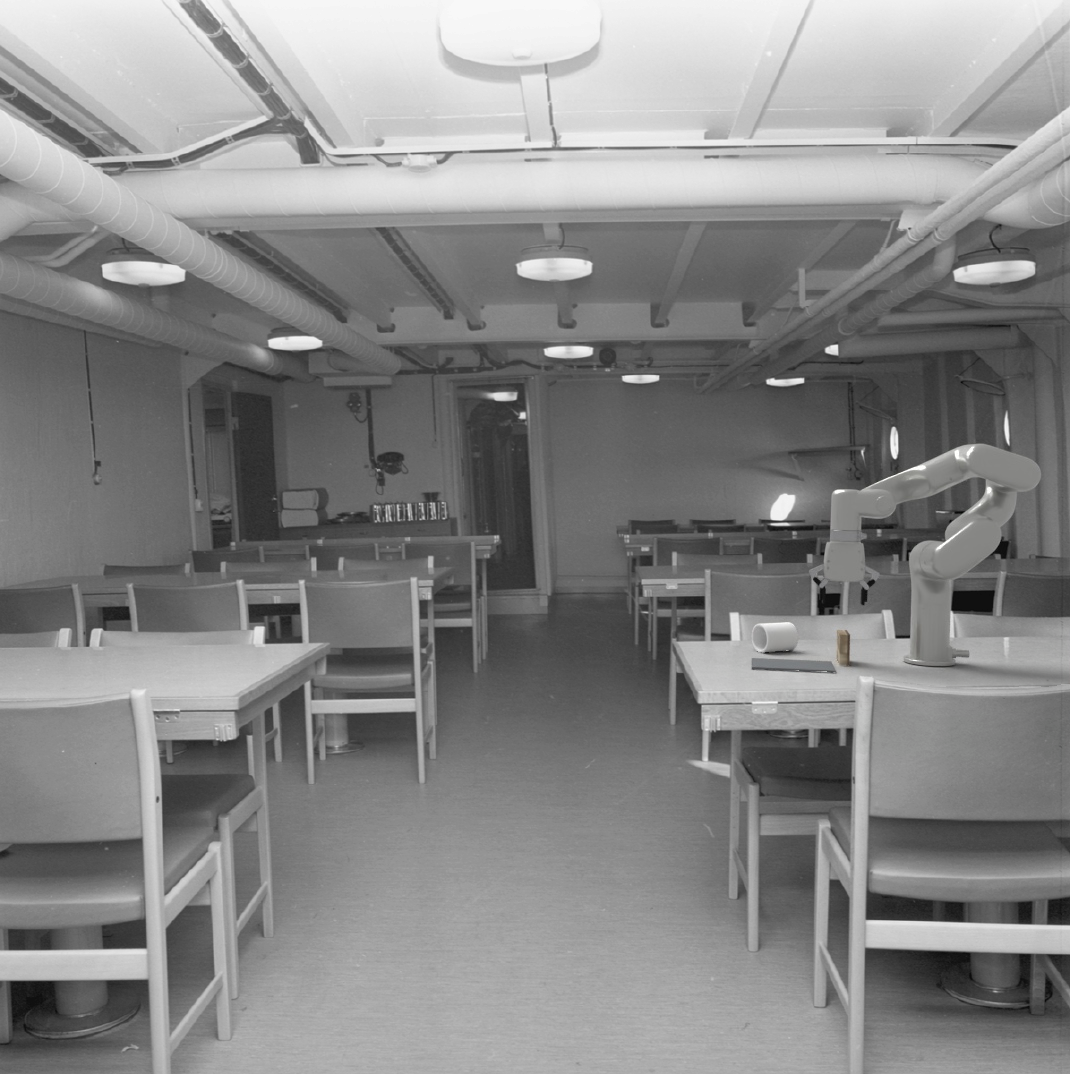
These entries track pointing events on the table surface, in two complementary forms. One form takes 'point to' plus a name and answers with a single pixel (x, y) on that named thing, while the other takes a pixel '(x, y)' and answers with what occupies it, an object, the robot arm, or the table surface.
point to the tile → (843, 647)
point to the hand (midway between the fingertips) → (842, 603)
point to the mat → (792, 665)
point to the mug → (774, 637)
